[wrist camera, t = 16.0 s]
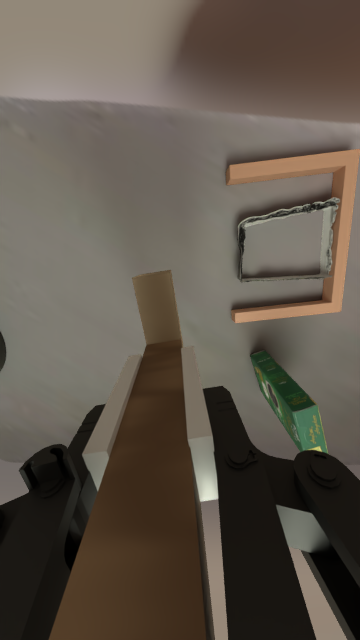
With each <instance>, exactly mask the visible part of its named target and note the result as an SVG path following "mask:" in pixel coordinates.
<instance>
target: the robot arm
mask: <svg viewBox="0 0 360 640" xmlns="http://www.w3.org/2000/svg"><path fill="white" fill-rule="evenodd" d="M181 354H182V368H183V382H184V396H185V410H186V424H187V438H188V444H189V447H190V449H191V454H192V460H193V465H194V471H195V476H196V482H197V487H198V493H199V498H200V501H207V500H214V499H218V500H219V514H220V528H221V543H222V557H223V570H224V585H225V599H226V613H227V627H228V640H316V637H315V634H314V630H313V627H312V624H311V620H310V617H309V614H308V610H307V607H306V604H305V600H304V597H303V594H302V591H301V587H300V584H299V580H298V577H297V574H296V571H295V568H294V564H293V561H292V557H291V554H290V551H289V547H288V546H290V547H293V548H296V549H299V550H301V552H302V554H303V556H304V558H305V559H306V561H307V563H308V565H309V567H310V569H311V571H312V573H313V575H314V577H315V579H316V580H317V582H318V584H319V586H320V588H321V590H322V592H323V594H324V596H325V598H326V600H327V602H328V603H329V605H330V607H331V609H332V611H333V613H334V615H335V617H336V619H337V621H338V623H339V624H340V626H341V628H342V630H343V632H344V634H345V636H346V638H347V640H360V480H359V479H358V478H357V477H356V476H355V475H354V474H353V473H352V472H351V471H350V470H349V469H348V468H347V467H346V466H345V465H344V464H343V463H341V462H340V461H339V460H338V459H336V458H335V457H333V456H331V455H329V454H327V453H325V452H321V451H317V450H304V451H302V452H300V453H298V454H297V456H296V457H295V459H294V461H293V460H288V459H282V458H276V457H273V456H269V455H267V454H265V453H263V452H261V451H260V450H258V449H257V448H256V447H255V446H254V445H253V444H252V442H251V441H250V439H249V437H248V435H247V432H246V430H245V427H244V425H243V423H242V420H241V418H240V415H239V413H238V411H237V409H236V406H235V404H234V402H233V399H232V396H231V394H230V392H229V391H228V390H227V389H226V388H224V387H223V386H218V387H212V388H205V389H202V384H201V380H200V375H199V370H198V366H197V361H196V357H195V352H194V347H193V346H191V347H184V348H181ZM5 357H6V350H5V344H4V341H3V338H2V336H1V334H0V371H1V369H2V368H3V365H4V363H5ZM141 360H142V356H141V354H139V355H133V356H129V357H128V359H127V361H126V363H125V365H124V368H123V370H122V372H121V374H120V376H119V378H118V380H117V382H116V384H115V386H114V389H113V391H112V393H111V395H110V397H109V399H108V401H107V403H106V404H103V405H97V406H95V407H94V408H93V409H92V410H91V411H90V412H89V413H88V414H87V415H86V417H85V419H84V421H83V422H82V426H80V428H79V429H78V431H77V434H76V435H75V436H74V438H73V440H72V442H71V444H70V445H69V447H68V449H67V447H66V446H64V445H62V444H56V445H51V446H49V447H46V448H44V449H42V450H40V451H39V452H37V453H35V454H34V455H33V456H32V457H31V458H29V459H28V460H27V461H26V462H25V463H24V465H23V466H22V467H21V468H20V470H19V472H20V474H21V476H22V478H23V480H24V482H25V483H26V485H27V487H28V489H29V493H27V494H25V495H23V496H21V497H19V498H16V499H14V500H12V501H9V502H7V503H5V504H3V505H0V640H49V637H50V634H51V631H52V628H53V625H54V622H55V619H56V616H57V613H58V610H59V607H60V604H61V601H62V598H63V595H64V592H65V589H66V586H67V583H68V580H69V577H70V574H71V571H72V568H73V565H74V562H75V559H76V556H77V553H78V550H79V547H80V544H81V541H82V538H83V535H84V532H85V529H86V526H87V523H88V520H89V517H90V514H91V511H92V508H93V505H94V502H95V499H96V496H97V493H98V490H99V487H100V484H101V481H102V478H103V475H104V472H105V469H106V466H107V463H108V460H109V457H110V454H111V451H112V448H113V445H114V442H115V439H116V436H117V433H118V430H119V427H120V424H121V421H122V417H123V414H124V411H125V408H126V405H127V402H128V399H129V396H130V393H131V390H132V387H133V384H134V381H135V378H136V375H137V372H138V369H139V366H140V363H141Z"/></svg>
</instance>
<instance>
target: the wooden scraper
mask: <svg viewBox="0 0 360 640" xmlns="http://www.w3.org/2000/svg"><path fill="white" fill-rule="evenodd" d="M132 280H133V285H134V289H135V294H136V298H137V303H138V307H139V312H140V316H141V321H142V326H143V330H144V335H145V339H146V344H147V345H146V348H145V351H144V354H143V357H142V360H141V363H140V366H139V369H138V372H137V375H136V378H135V381H134V384H133V387H132V390H131V393H130V396H129V399H128V402H127V405H126V408H125V411H124V414H123V417H122V421H121V424H120V427H119V430H118V433H117V436H116V439H115V442H114V445H113V448H112V451H111V454H110V457H109V460H108V463H107V466H106V469H105V472H104V475H103V478H102V481H101V484H100V487H99V490H98V493H97V496H96V499H95V502H94V505H93V508H92V511H91V514H90V517H89V520H88V523H87V526H86V529H85V532H84V535H83V538H82V541H81V544H80V547H79V550H78V553H77V556H76V559H75V562H74V565H73V568H72V571H71V574H70V577H69V580H68V583H67V586H66V589H65V592H64V595H63V598H62V601H61V604H60V607H59V610H58V613H57V616H56V619H55V622H54V625H53V628H52V631H51V634H50V637H49V640H215V636H214V626H213V617H212V607H211V598H210V588H209V579H208V571H207V560H206V551H205V541H204V532H203V523H202V513H201V504H200V498H199V493H198V487H197V482H196V476H195V471H194V465H193V460H192V454H191V449H190V447H189V444H188V438H187V424H186V410H185V396H184V382H183V368H182V354H181V348H184V347H183V341H182V335H181V329H180V322H179V316H178V310H177V304H176V298H175V292H174V286H173V280H172V274H171V270H167V271H160V272H154V273H148V274H142V275H138V276H136V277H133V278H132Z"/></svg>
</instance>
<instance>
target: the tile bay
mask: <svg viewBox="0 0 360 640" xmlns="http://www.w3.org/2000/svg"><path fill="white" fill-rule="evenodd" d="M359 155H360V149H355V150H347V151H339V152H331V153H323V154H315V155H307V156H299V157H291V158H283V159H275V160H267V161H259V162H251V163H243V164H235V165H230V166H229V167H228V169H227V171H226V185H234V184H242V183H250V182H258V181H266V180H274V179H282V178H291V177H299V176H307V175H315V174H323V173H331V172H334V173H333V184H332V195H331V198H337V199H338V198H339V199H340V202H339V203H337V205H338V209H337V210H335V212H336V216H335V221H334V223H332V226H331V228H332V230H333V238H332V239H333V242H332V245H331V251H332V256H331V258H332V265H331V268H330V269H331V270H330V271H329V275H333V276H332V277H328V278H325V279H324V284H323V295H322V300H318V301H309V302H300V303H291V304H282V305H273V306H264V307H255V308H246V309H237V310H231V312H232V320H233V321H234V322H235V323H240V322H250V321H259V320H268V319H277V318H286V317H295V316H304V315H314V314H323V313H332V312H341V306H342V298H343V289H344V281H345V273H346V264H347V256H348V247H349V239H350V231H351V222H352V214H353V205H354V197H355V189H356V180H357V172H358V163H359Z"/></svg>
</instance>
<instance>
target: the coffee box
mask: <svg viewBox="0 0 360 640" xmlns="http://www.w3.org/2000/svg"><path fill="white" fill-rule="evenodd" d="M250 357H251V360H252V363H253V366H254V369H255V373H256V376H257V379H258V382H259V386H260V389H261V392H262V393H263V395H264V397H265V398H266V400H267V401H268V403H269V405H270V406H271V408H272V409H273V411H274V412H275V414H276V415H277V417H278V418H279V420H280V421H281V423H282V424H283V426H284V427H285V429H286V431H287V432H288V434H289V435H290V437H291V438H292V440H293V441H294V443H295V444H296V446H297V447H298V449H299V450H300V452H302V451H304V450H317V451H321V452H325V453H327V454H328V451H327V446H326V442H325V437H324V432H323V428H322V423H321V418H320V414H319V409H318V405H317V404H316V403H315V402H314V400H313V399H312V398H311V397H309V395H308V394H307V393H306V392H305V391H304V390H303V389H302V388H301V387H300V386H299V385H298V384H297V383H296V382H295V381H294V380H293V379H292V378H291V377H290V376H289V375H288V374H287V373H286V372H285V371H284V370H283V369H282V368H281V367H280V365H279V364H278V363H277V362H276V361H275V360H274V359H273V358H272V357H271V356H270V355H269V354H268V353H267V352H266V351H265V350H263V351H260V352H257V353H254V354H252V355H250Z"/></svg>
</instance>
